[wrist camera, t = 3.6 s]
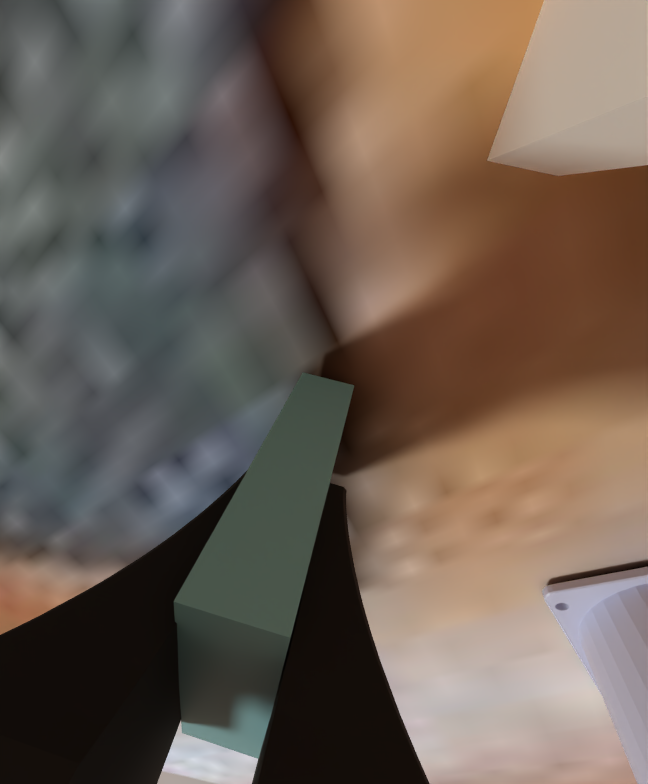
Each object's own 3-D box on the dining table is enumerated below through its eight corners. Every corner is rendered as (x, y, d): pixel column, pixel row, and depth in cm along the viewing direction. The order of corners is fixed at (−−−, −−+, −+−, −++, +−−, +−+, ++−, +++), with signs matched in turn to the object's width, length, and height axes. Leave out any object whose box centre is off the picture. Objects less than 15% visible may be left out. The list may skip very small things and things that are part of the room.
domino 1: (354, 385, 12) (290, 638, 5) (326, 494, 15) (259, 759, 8) (302, 372, 12) (174, 601, 5) (284, 482, 15) (181, 732, 8)
